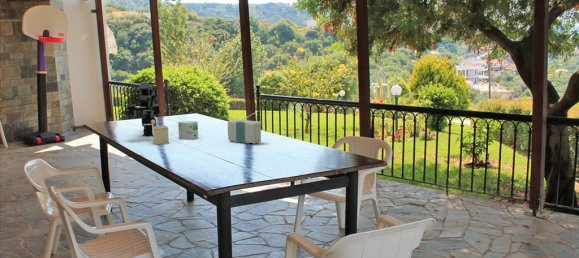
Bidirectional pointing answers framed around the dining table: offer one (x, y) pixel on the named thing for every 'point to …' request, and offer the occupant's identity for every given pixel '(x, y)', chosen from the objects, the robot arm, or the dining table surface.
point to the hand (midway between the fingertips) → (143, 118)
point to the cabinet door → (153, 126)
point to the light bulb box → (188, 130)
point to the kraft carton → (161, 135)
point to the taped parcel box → (244, 131)
